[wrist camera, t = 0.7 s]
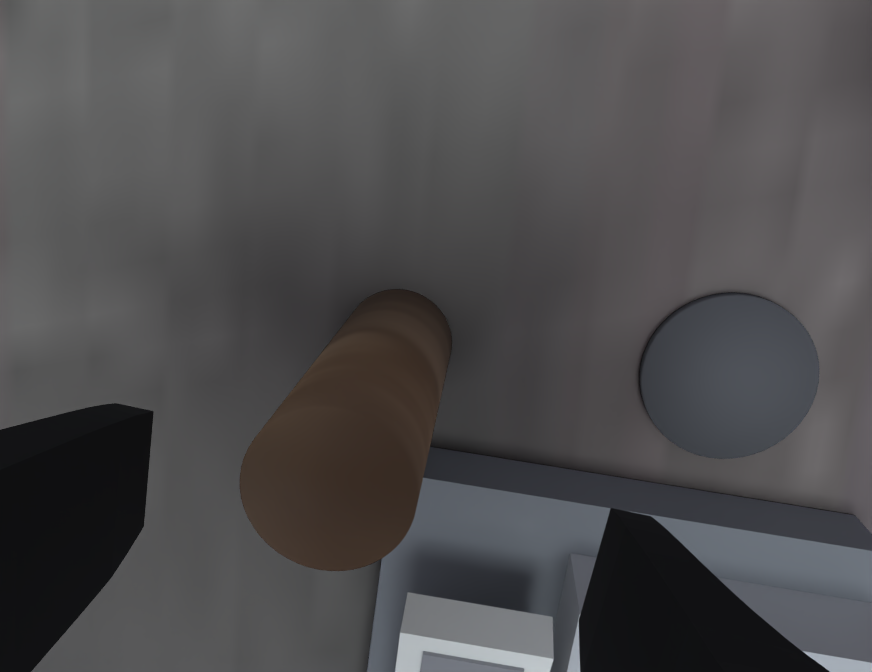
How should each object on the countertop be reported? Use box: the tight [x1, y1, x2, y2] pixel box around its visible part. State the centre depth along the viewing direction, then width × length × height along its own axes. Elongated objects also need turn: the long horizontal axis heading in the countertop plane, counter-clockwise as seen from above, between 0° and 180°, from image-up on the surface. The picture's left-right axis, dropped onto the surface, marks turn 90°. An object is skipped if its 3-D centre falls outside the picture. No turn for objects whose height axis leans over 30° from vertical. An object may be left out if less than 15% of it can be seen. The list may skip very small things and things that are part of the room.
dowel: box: [240, 289, 452, 571], centre depth 17 cm, size 3×3×9 cm
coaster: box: [639, 293, 819, 459], centre depth 21 cm, size 5×5×1 cm
